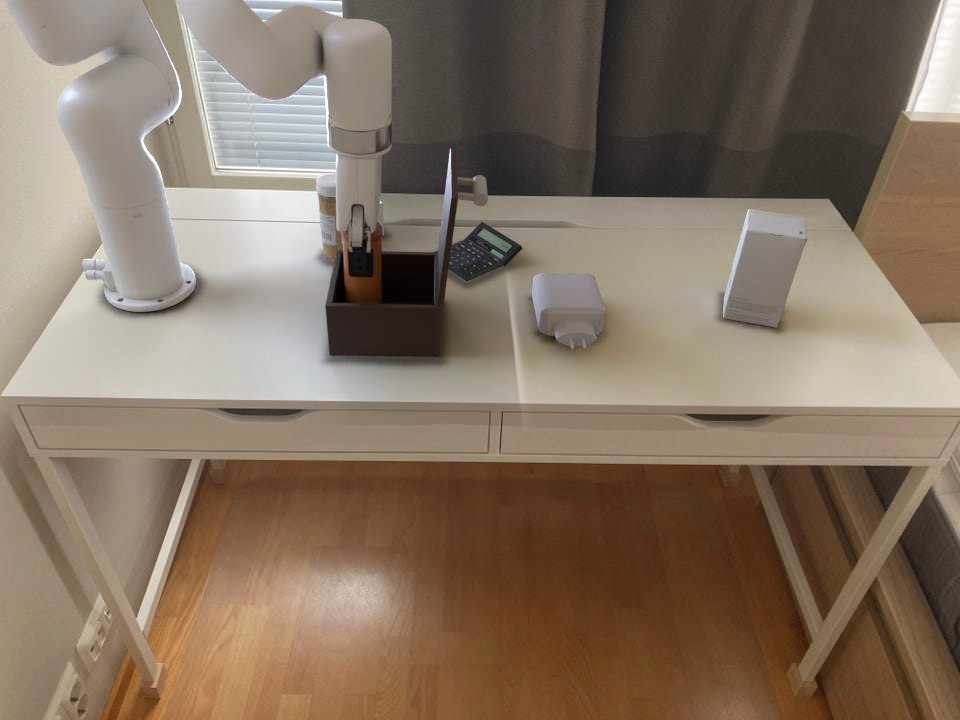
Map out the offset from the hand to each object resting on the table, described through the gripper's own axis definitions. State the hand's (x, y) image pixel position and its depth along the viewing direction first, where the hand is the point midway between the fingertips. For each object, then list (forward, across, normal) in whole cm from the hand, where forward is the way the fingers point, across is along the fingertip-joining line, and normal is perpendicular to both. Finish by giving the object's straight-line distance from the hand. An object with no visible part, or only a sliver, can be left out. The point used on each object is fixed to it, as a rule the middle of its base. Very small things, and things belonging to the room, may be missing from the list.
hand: (362, 262), depth 105 cm
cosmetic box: (+10, -6, +57) cm, 58 cm away
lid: (-6, 0, +10) cm, 12 cm away
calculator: (+11, -19, +16) cm, 27 cm away
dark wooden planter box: (+11, 0, +3) cm, 11 cm away
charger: (+11, -1, +29) cm, 31 cm away
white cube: (+11, -27, -3) cm, 29 cm away
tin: (+7, 0, 0) cm, 7 cm away
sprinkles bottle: (+11, -19, -6) cm, 23 cm away
